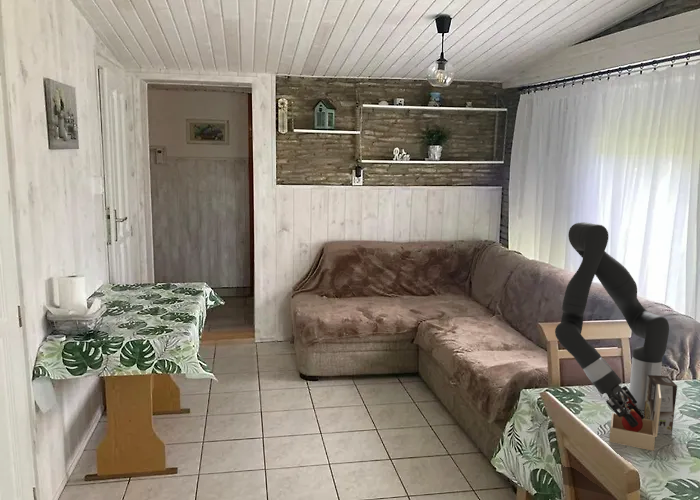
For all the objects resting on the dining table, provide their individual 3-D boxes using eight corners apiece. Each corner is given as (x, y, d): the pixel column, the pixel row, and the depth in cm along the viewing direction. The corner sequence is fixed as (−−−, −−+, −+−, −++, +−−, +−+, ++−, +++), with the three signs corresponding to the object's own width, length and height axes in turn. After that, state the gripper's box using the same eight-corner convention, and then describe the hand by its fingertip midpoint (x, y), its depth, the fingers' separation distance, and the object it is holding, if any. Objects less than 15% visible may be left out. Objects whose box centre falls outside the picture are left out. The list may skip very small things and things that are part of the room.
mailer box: (610, 426, 187) (615, 377, 184) (654, 434, 181) (659, 384, 179) (609, 441, 176) (614, 390, 173) (655, 451, 170) (661, 398, 168)
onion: (640, 431, 180) (642, 407, 179) (642, 439, 175) (645, 414, 174) (619, 428, 182) (622, 404, 181) (621, 436, 177) (624, 411, 176)
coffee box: (672, 435, 181) (678, 386, 179) (650, 432, 182) (655, 384, 180) (663, 422, 190) (668, 375, 187) (642, 420, 191) (646, 373, 189)
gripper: (603, 375, 175) (642, 424, 169) (618, 363, 186) (655, 409, 180) (584, 387, 179) (621, 436, 173) (599, 375, 190) (635, 420, 184)
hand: (638, 422), depth 177 cm, fingers closed on onion, 5 cm apart
